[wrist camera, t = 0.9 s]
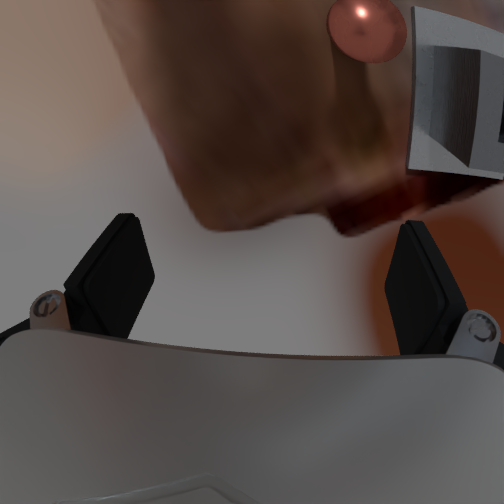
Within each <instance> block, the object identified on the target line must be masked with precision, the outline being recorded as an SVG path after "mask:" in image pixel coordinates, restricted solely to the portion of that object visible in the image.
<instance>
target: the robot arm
mask: <svg viewBox="0 0 504 504" xmlns="http://www.w3.org/2000/svg"><path fill="white" fill-rule="evenodd" d="M154 279H155V274H154V270H153V267H152V263H151V260H150V256H149V253H148V249H147V246H146V243H145V239H144V235H143V231H142V227H141V224H140V220H139V218H138V217H135V215H134V214H133V213H122V214H121V213H120V214H118V215H117V216H116V217H115V218H114V219H113V220H112V222H111V223H110V224H109V225H108V226H107V228H106V229H105V230H104V231H103V233H102V234H101V235H100V236H99V238H98V239H97V240H96V241H95V243H94V244H93V245H92V246H91V248H90V249H89V250H88V252H87V253H86V254H85V256H84V257H83V258H82V260H81V261H80V262H79V264H78V265H77V266H76V268H75V269H74V271H73V272H72V273H71V275H70V276H69V277H68V279H67V280H66V281H65V283H64V287H65V289H66V291H65V292H64V294H63V293H62V292H61V291H58V290H50V291H47V292H45V293H43V294H41V295H40V296H39V297H38V298H36V299H35V301H34V302H33V303H32V305H31V307H30V318H28V319H26V320H24V321H23V322H21V323H19V324H17V325H15V326H13V327H11V328H9V329H8V330H6V331H4V332H2V333H0V504H504V344H502V343H501V342H499V340H500V334H501V333H500V328H499V326H498V324H497V322H496V321H495V320H494V319H493V317H492V316H490V315H489V314H488V313H486V312H484V311H481V310H470V311H468V308H467V306H466V302H465V299H464V297H463V295H462V293H461V291H460V289H459V287H458V285H457V283H456V281H455V279H454V277H453V275H452V273H451V271H450V269H449V267H448V265H447V263H446V261H445V259H444V258H443V256H442V254H441V252H440V250H439V248H438V247H437V245H436V243H435V241H434V240H433V238H432V236H431V234H430V233H429V231H428V229H427V228H426V226H425V224H424V223H423V222H422V221H413V220H407V221H406V223H405V224H402V225H401V226H400V230H399V234H398V238H397V242H396V246H395V250H394V253H393V257H392V261H391V264H390V267H389V271H388V274H387V278H386V281H385V293H386V297H387V301H388V304H389V308H390V312H391V316H392V320H393V324H394V328H395V332H396V337H397V341H398V345H399V350H400V355H389V356H388V355H384V356H310V355H308V356H307V355H283V354H261V353H248V352H234V351H222V350H210V349H200V348H192V347H183V346H174V345H166V344H159V343H151V342H144V341H137V340H131V339H127V338H128V336H129V334H130V332H131V329H132V327H133V325H134V323H135V321H136V318H137V316H138V314H139V312H140V310H141V308H142V306H143V303H144V301H145V299H146V297H147V295H148V293H149V291H150V289H151V287H152V285H153V282H154Z"/></svg>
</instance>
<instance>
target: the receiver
mask: <svg viewBox="0 0 504 504" xmlns="http://www.w3.org/2000/svg"><path fill="white" fill-rule="evenodd" d="M411 15H412V41H413V73H412V100H411V116H410V128H409V139H408V149H407V157H406V167H407V168H408V169H418V170H429V171H440V172H449V173H458V174H466V175H474V176H482V177H489V178H496V179H502V180H503V176H504V34H503V33H500V32H498V31H495V30H493V29H490V28H488V27H485V26H482V25H479V24H477V23H474V22H471V21H468V20H465V19H462V18H458V17H455V16H452V15H448V14H445V13H441V12H438V11H434V10H430V9H426V8H421V7H417V6H413V7H411Z"/></svg>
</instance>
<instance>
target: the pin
mask: <svg viewBox="0 0 504 504" xmlns="http://www.w3.org/2000/svg"><path fill="white" fill-rule="evenodd" d="M326 26H327V31H328V34H329V37H330V39H331V41H332V42H333V44H334V45H335V46H336V47H337V49H338V50H339V51H341V52H342V53H343V54H345V55H346V56H348V57H350V58H352V59H354V60H357V61H361V62H367V63H382V62H386V61H389V60H391V59H392V58H394V57H395V56H397V55H398V54H399V53H400V52H401V50H402V49H403V47H404V45H405V42H406V37H407V29H406V24H405V21H404V18H403V16H402V14H401V13H400V11H399V10H398V8H397V7H396V6H395V5H394V4H393V3H392V2H391V1H389V0H337V1H336V2H335V3H334V4H333V5H332V7H331V8H330V10H329V12H328V15H327V20H326Z"/></svg>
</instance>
